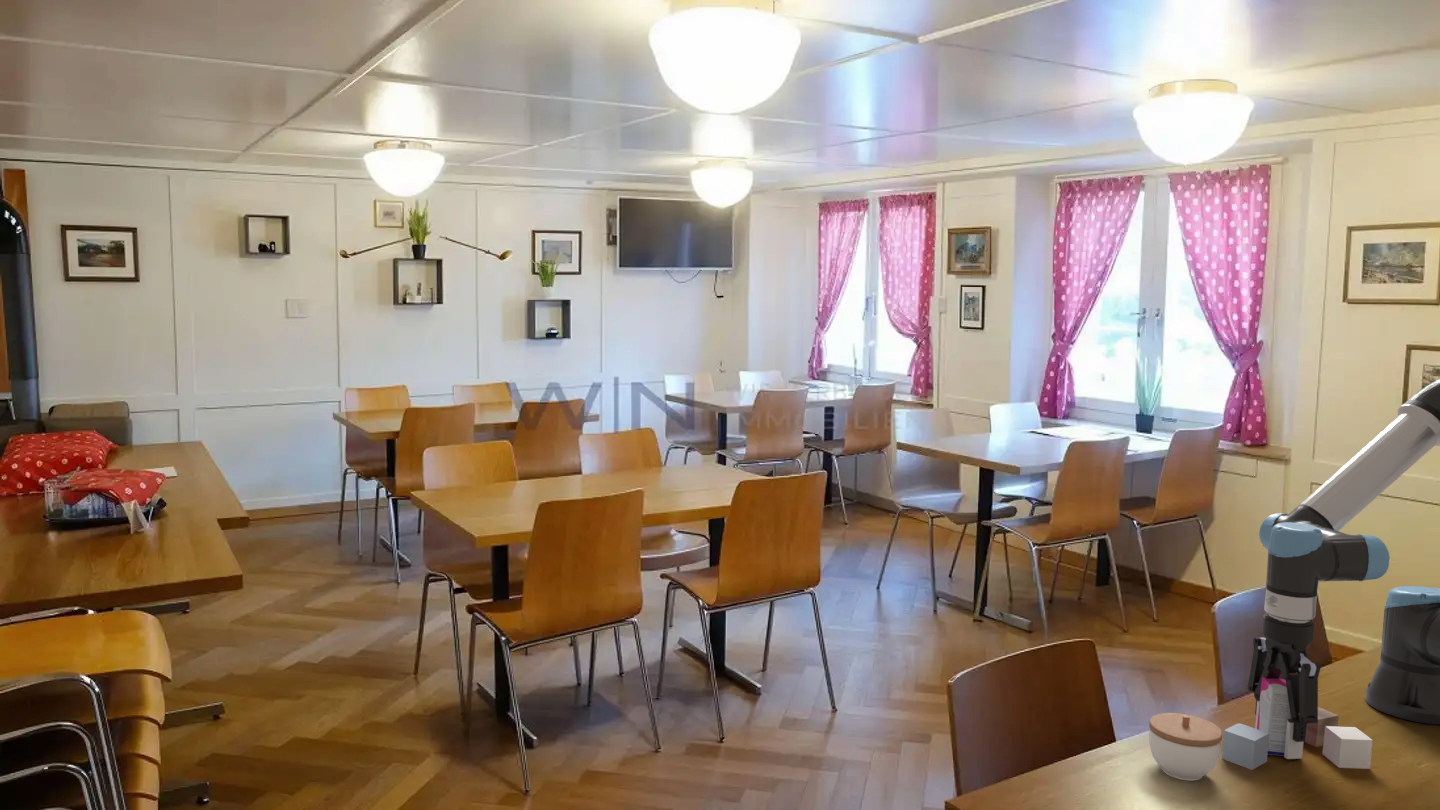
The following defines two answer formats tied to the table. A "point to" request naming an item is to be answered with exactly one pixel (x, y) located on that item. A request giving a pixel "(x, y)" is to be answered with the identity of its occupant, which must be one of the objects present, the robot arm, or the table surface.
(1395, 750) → the table surface
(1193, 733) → the lidded jar
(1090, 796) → the table surface
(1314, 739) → the walnut cube
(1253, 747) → the slate-blue cube
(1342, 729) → the off-white cube
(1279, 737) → the supplement box
